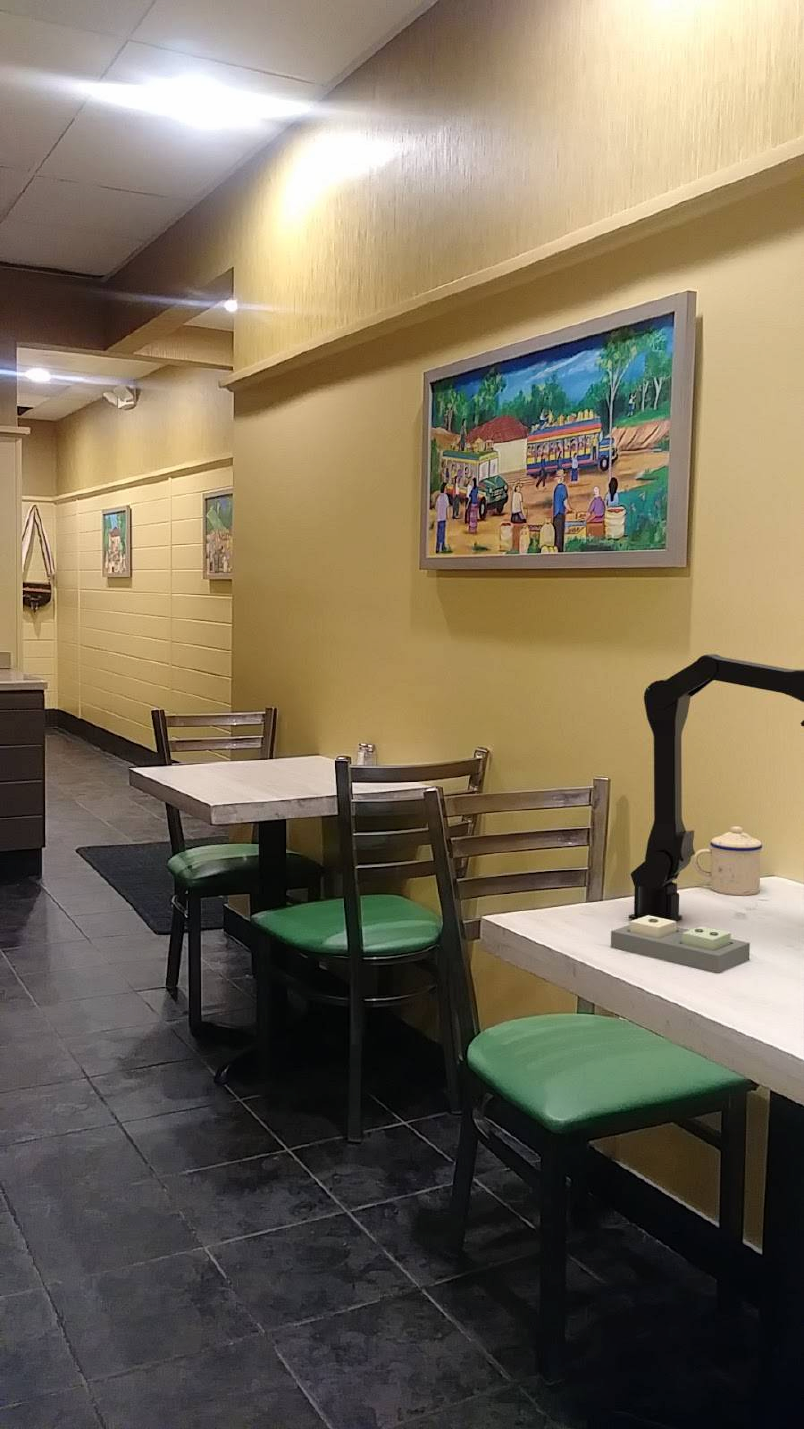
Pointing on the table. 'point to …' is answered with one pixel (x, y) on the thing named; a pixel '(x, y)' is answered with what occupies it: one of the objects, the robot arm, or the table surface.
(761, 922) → the table surface
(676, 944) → the panel
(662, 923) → the cream tile one
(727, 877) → the teacup with lid
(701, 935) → the sage tile two
